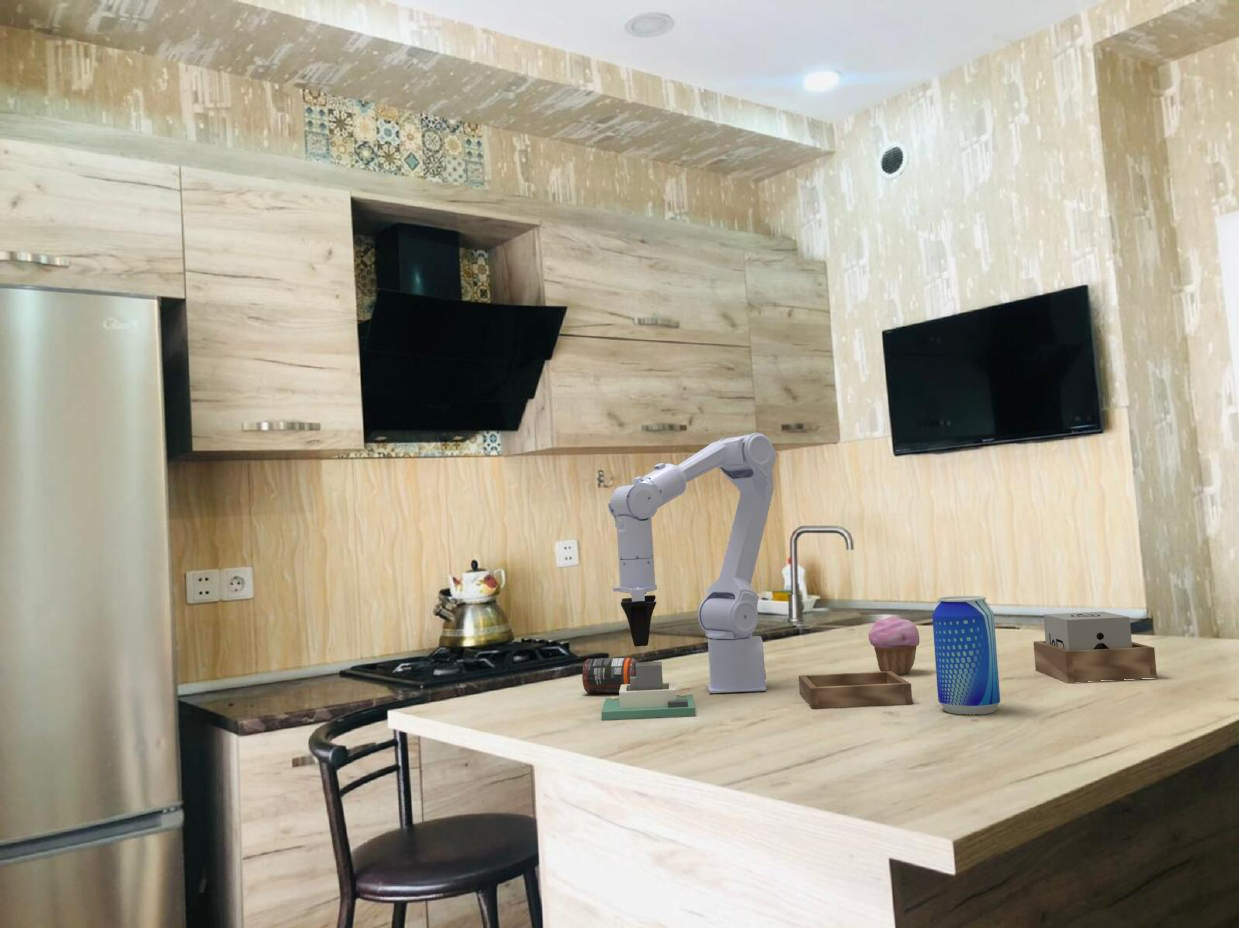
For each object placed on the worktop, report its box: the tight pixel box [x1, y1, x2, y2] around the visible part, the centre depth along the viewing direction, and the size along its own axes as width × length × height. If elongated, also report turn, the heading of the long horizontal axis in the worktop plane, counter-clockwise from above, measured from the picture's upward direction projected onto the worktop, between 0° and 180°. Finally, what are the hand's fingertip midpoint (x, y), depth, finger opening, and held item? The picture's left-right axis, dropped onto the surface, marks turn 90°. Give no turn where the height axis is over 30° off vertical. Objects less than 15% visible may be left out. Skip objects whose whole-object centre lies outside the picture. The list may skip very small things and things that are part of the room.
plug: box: [630, 660, 664, 691], centre depth 158 cm, size 5×4×6 cm
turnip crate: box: [798, 671, 913, 709], centre depth 159 cm, size 15×13×3 cm
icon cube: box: [1042, 611, 1133, 651], centre depth 169 cm, size 10×10×10 cm
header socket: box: [618, 681, 677, 709], centre depth 158 cm, size 9×8×2 cm
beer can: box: [931, 595, 1001, 716], centre depth 146 cm, size 8×8×16 cm
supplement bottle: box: [581, 657, 639, 694], centre depth 176 cm, size 6×6×11 cm
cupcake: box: [868, 616, 920, 676], centre depth 182 cm, size 9×9×10 cm
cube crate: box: [1033, 640, 1158, 684], centre depth 169 cm, size 14×14×5 cm
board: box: [600, 693, 696, 721], centre depth 158 cm, size 14×12×2 cm
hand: (641, 643), depth 164 cm, fingers open, 7 cm apart
